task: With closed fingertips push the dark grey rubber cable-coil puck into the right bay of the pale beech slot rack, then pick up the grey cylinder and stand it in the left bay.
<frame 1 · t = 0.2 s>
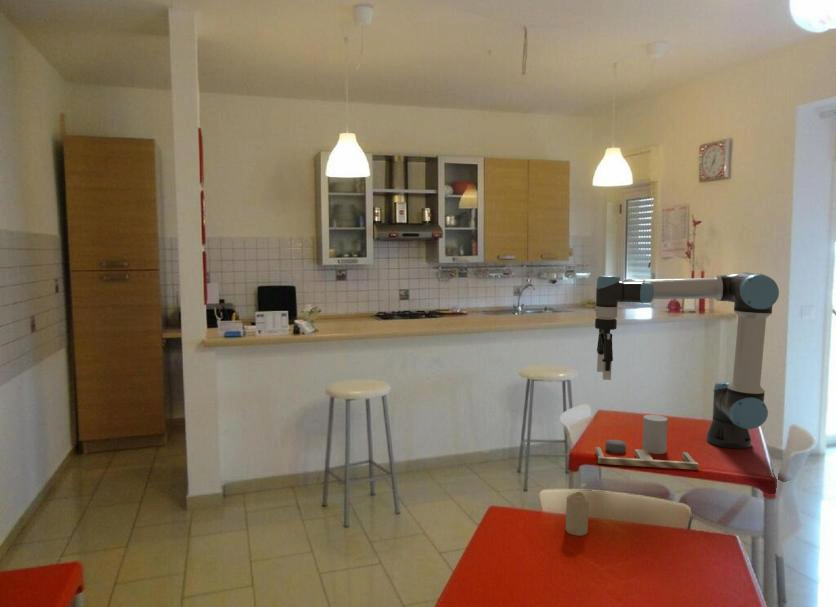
hand: (603, 375, 220), 26 cm above the table, fingers open, 13 cm apart
grey cylinder: (654, 450, 218), on the table
candle: (576, 531, 156), on the table
slot rack: (644, 460, 207), on the table
puck: (615, 450, 218), on the table
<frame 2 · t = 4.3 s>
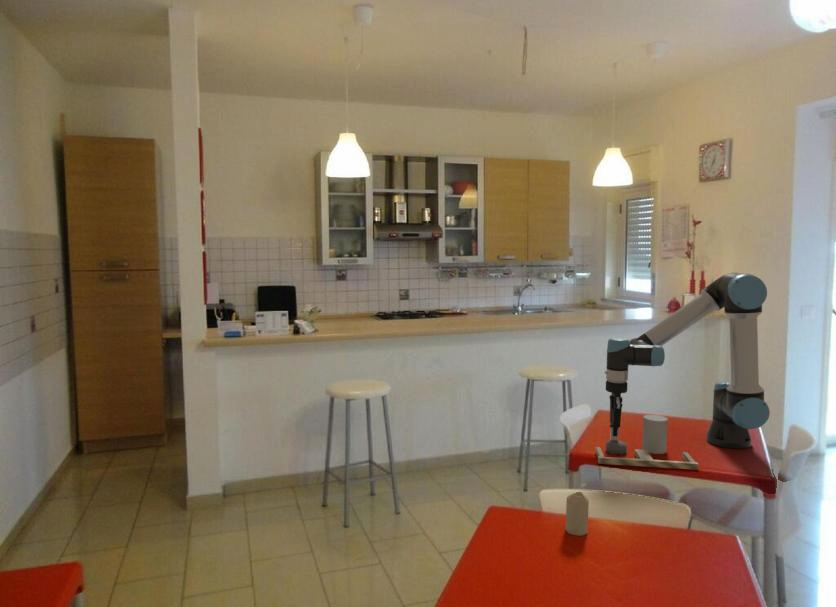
hand: (614, 443, 220), 1 cm above the table, fingers closed
puck: (616, 451, 216), on the table, touching gripper
everything else where it was.
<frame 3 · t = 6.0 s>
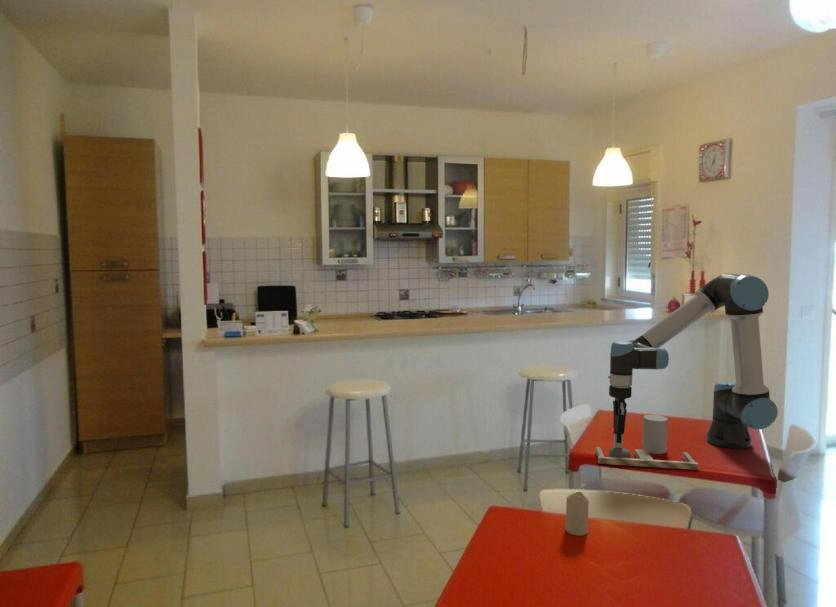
hand: (617, 450, 213), 1 cm above the table, fingers closed
puck: (619, 459, 209), on the table, touching gripper
everything else where it was.
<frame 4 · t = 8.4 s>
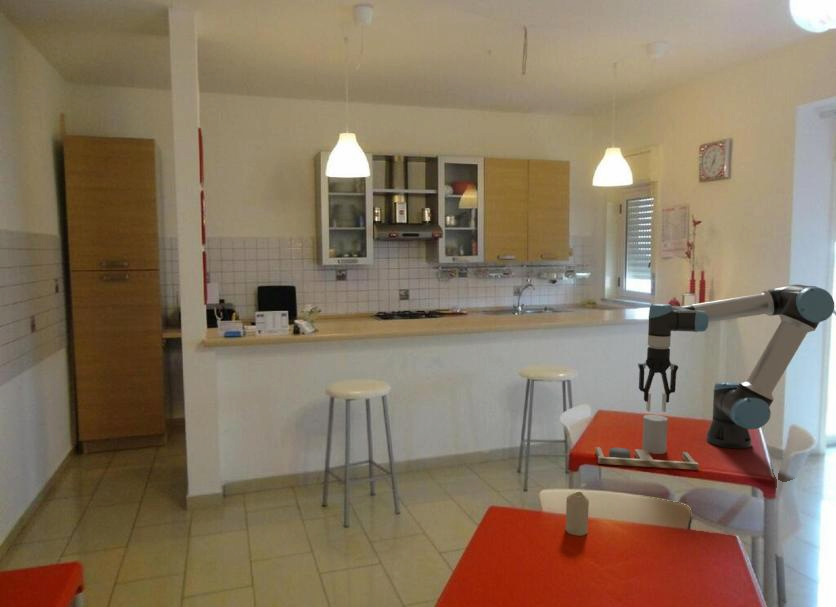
hand: (655, 410, 217), 15 cm above the table, fingers open, 5 cm apart
puck: (619, 459, 209), on the table
everything else where it was.
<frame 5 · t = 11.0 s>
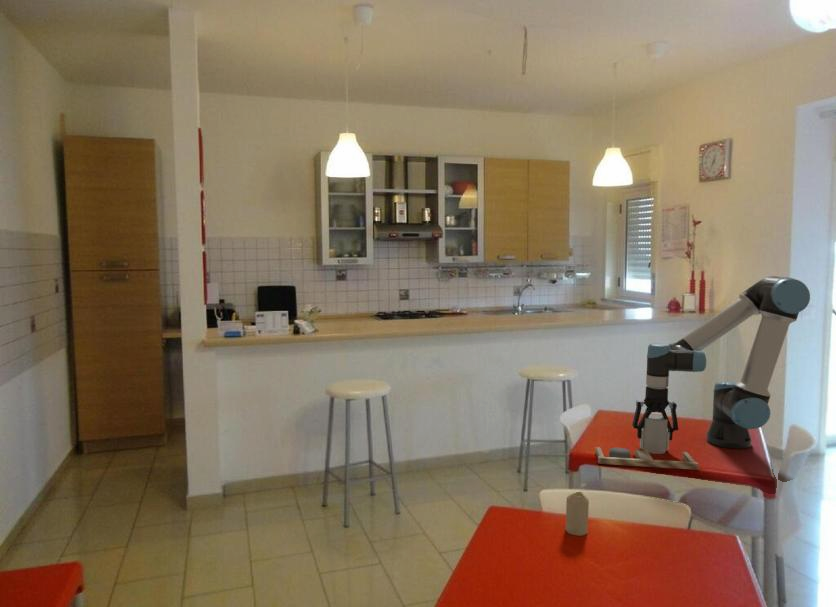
hand: (654, 447, 218), 1 cm above the table, fingers closed on grey cylinder, 8 cm apart
grey cylinder: (653, 450, 219), on the table, touching gripper
everything else where it was.
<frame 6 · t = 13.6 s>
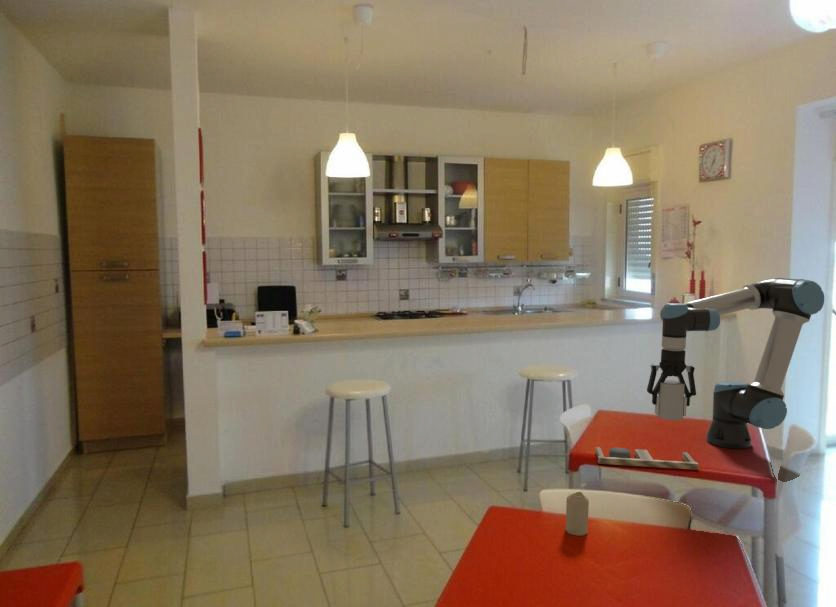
hand: (670, 414, 205), 17 cm above the table, fingers closed on grey cylinder, 8 cm apart
grey cylinder: (669, 417, 205), point 16 cm above the table, touching gripper
everything else where it was.
when the fingers open (3 cm above the table, at t = 16.3 s): grey cylinder drops 2 cm, on the table.
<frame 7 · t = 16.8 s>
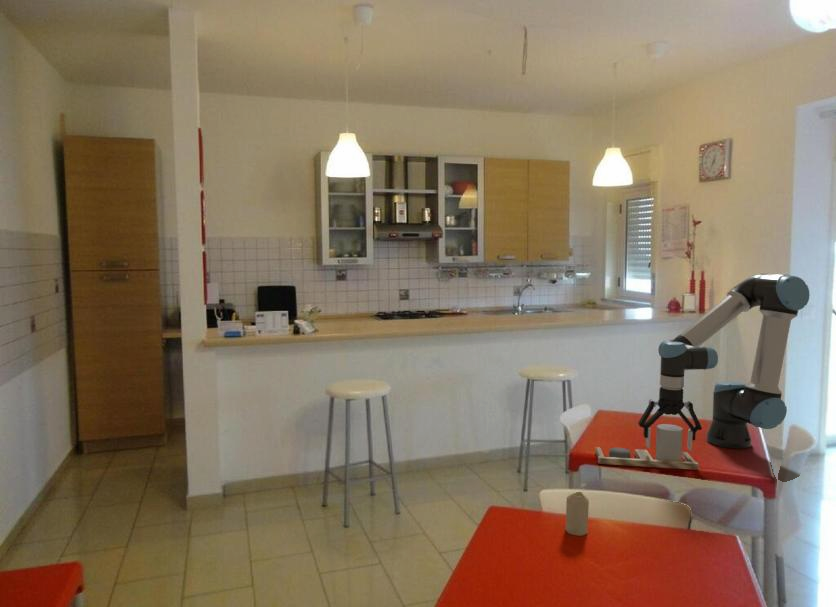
hand: (668, 448, 206), 5 cm above the table, fingers open, 13 cm apart
grey cylinder: (668, 462, 207), on the table
everything else where it was.
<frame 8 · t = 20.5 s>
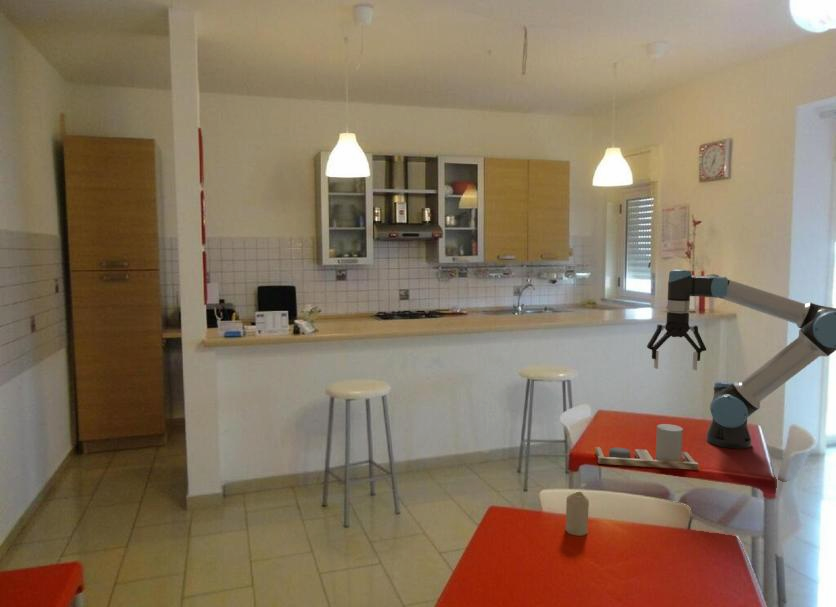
hand: (675, 368, 222), 29 cm above the table, fingers open, 13 cm apart
nothing on the table moved.
at the end: grey cylinder inside the target area (0.3 cm from its centre), on the table; grey cylinder tilted 0°; puck inside the target area (0.2 cm from its centre), on the table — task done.
